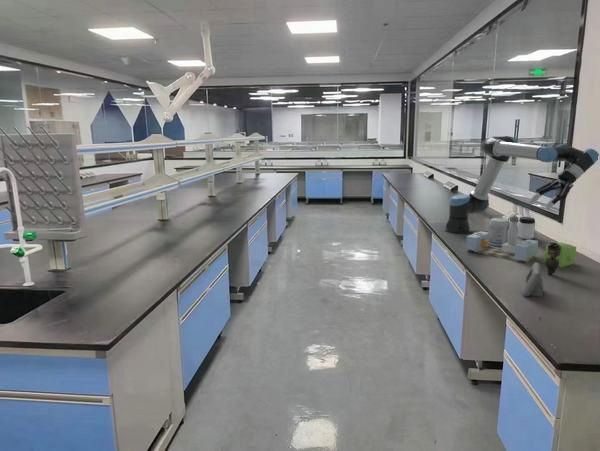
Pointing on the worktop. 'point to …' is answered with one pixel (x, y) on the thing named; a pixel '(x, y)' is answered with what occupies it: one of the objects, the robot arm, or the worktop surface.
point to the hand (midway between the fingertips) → (538, 205)
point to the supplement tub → (498, 231)
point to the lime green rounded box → (564, 254)
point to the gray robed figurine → (533, 282)
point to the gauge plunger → (484, 242)
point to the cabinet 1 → (476, 240)
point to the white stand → (511, 236)
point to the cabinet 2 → (526, 249)
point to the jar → (526, 228)
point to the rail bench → (499, 253)
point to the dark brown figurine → (553, 257)
